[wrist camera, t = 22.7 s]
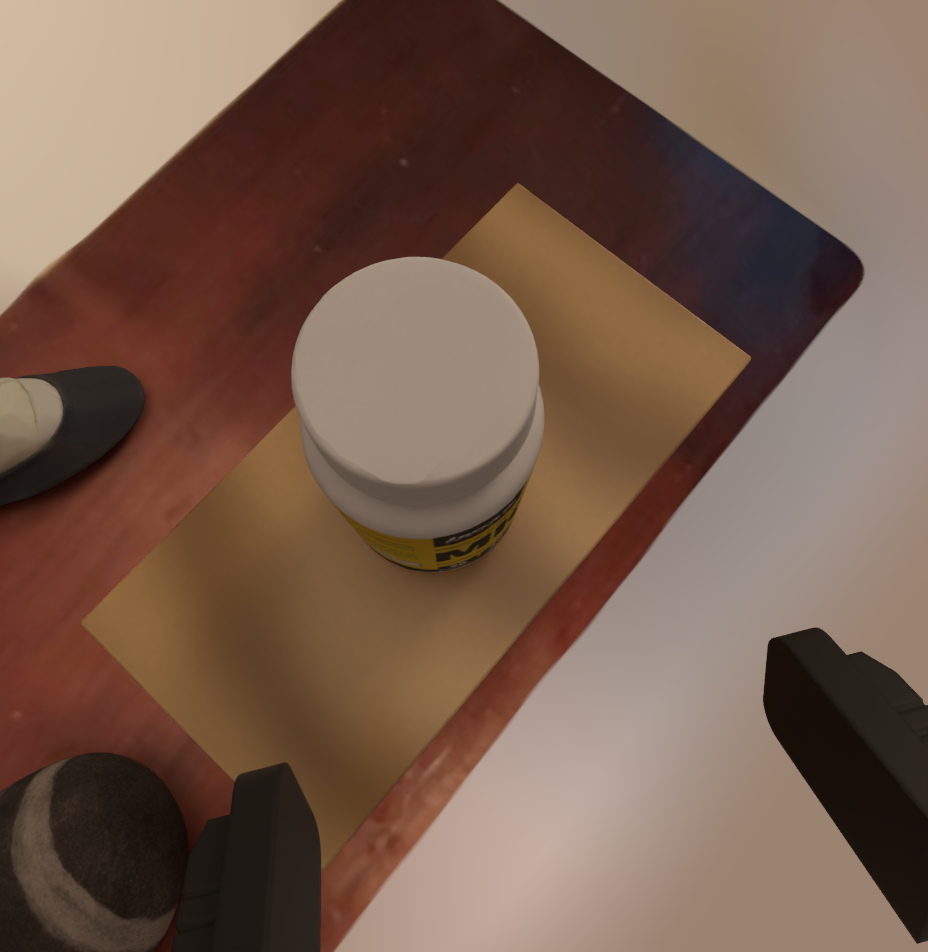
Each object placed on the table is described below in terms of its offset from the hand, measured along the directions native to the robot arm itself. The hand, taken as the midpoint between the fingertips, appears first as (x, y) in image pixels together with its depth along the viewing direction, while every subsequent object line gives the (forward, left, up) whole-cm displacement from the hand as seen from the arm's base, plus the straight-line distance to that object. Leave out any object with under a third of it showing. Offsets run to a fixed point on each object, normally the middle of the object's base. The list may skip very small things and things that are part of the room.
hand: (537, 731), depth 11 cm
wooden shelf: (-3, -5, -39) cm, 39 cm away
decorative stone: (+28, -11, -39) cm, 49 cm away
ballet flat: (+13, -37, -39) cm, 55 cm away
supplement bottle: (-3, -5, -7) cm, 9 cm away
